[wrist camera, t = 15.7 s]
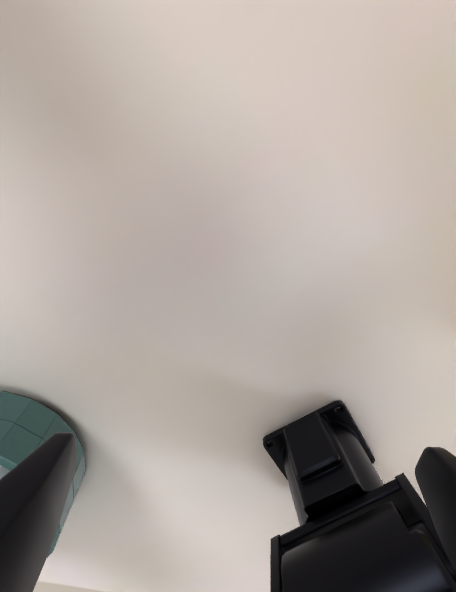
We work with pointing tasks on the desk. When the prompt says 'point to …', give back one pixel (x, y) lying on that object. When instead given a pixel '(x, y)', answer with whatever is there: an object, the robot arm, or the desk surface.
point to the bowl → (34, 439)
